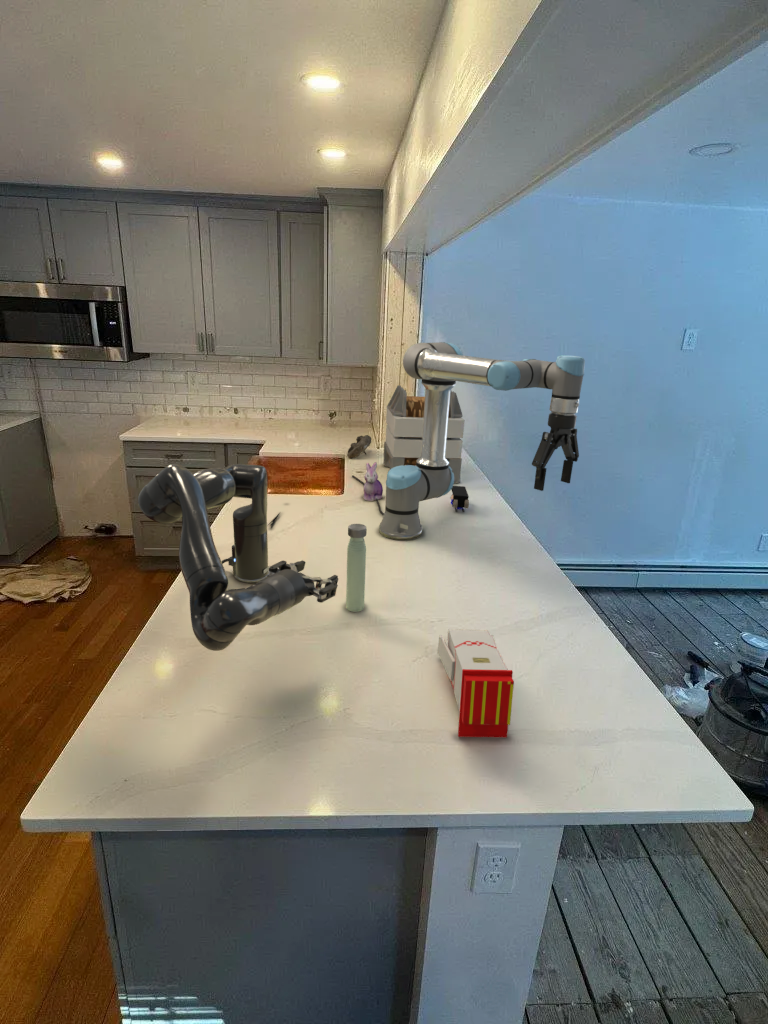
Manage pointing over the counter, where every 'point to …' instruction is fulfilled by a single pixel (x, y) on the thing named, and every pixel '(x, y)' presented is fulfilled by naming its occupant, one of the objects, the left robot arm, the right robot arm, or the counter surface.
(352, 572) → the bottle
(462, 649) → the toy
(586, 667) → the counter surface
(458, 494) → the figurine character
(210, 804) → the counter surface
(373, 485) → the figurine
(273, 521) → the feather
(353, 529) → the cap
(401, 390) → the grey slatted crate
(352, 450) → the fossil
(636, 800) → the counter surface
